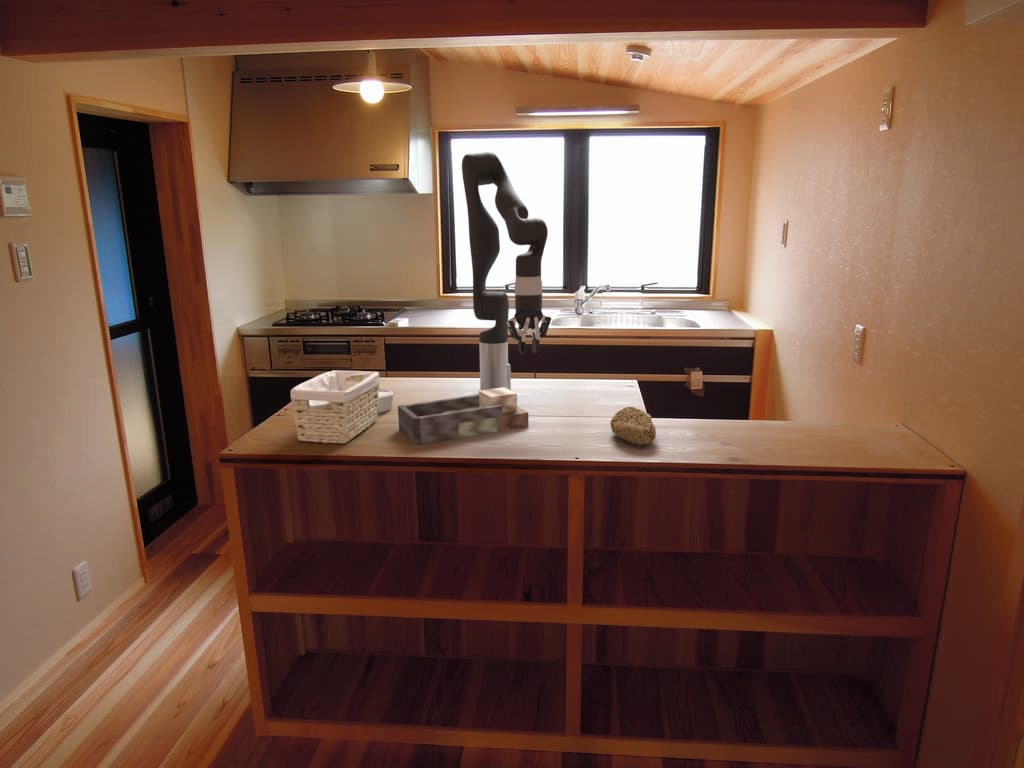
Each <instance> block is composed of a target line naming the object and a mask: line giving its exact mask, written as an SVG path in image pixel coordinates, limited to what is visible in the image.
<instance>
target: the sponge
mask: <svg viewBox="0 0 1024 768" xmlns="http://www.w3.org/2000/svg"><path fill="white" fill-rule="evenodd" d="M610 428H611V431H612V433H613V434H615V436H616V437H618V438H619V439H622V440H624V441H626V442H628V443H630V444H633V445H638V446H646V445H650V444H652V442H653V441H654V440H655V439H656V437H657V436H656V435H657V431H656V427H655V425H654V423H653V421H652V416H651V415H650V414H649V413H647V412H646V411H645V410H642V409H639V408H636V407H634V406H626V407H624V408H622V409H620V410H618V411H617V412H616V413H615V414H614V416H613V417H612V418H611V420H610Z"/></svg>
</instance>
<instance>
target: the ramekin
mask: <svg viewBox="0 0 1024 768" xmlns="http://www.w3.org/2000/svg"><path fill="white" fill-rule="evenodd" d="M394 395H395V393H394V391H393V390H391V389H387V388H379V392H378V411H377V413H378V414H382V413H381V412H383V413H386V412H385V411H387V412H389V411H390V410H391V409H392V406H393V401H394ZM388 410H389V411H388Z"/></svg>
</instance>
